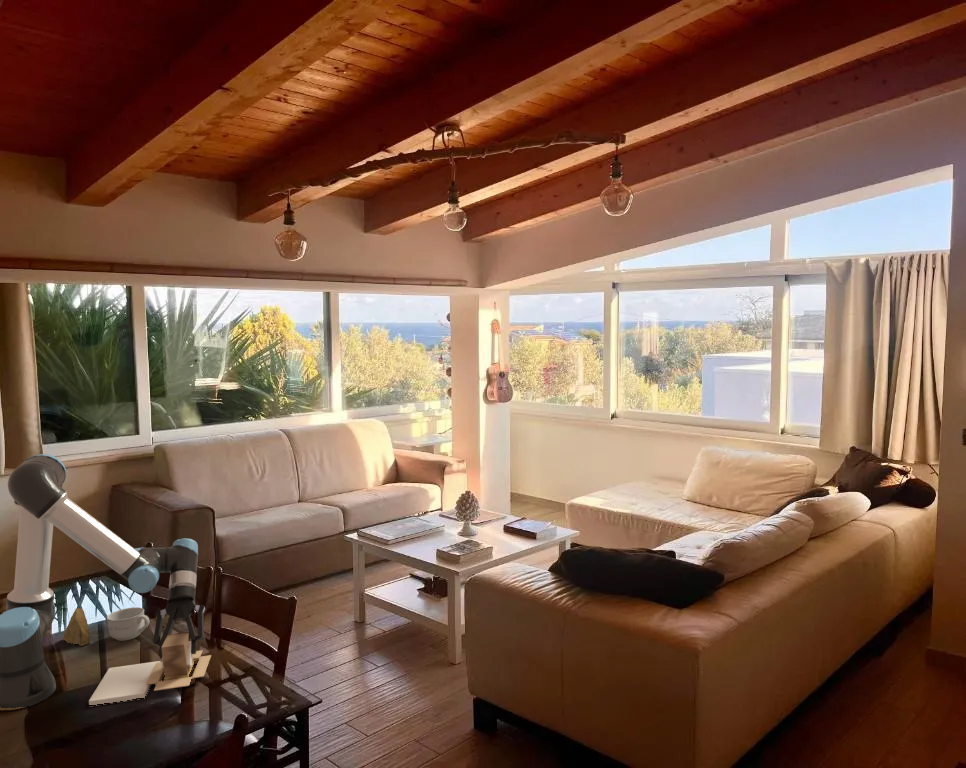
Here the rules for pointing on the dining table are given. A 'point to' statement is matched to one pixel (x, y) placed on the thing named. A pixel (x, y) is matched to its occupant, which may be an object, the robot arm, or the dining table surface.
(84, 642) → the rock
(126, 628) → the teacup
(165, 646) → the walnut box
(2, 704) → the robot arm
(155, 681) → the carton
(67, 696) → the dining table surface
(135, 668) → the board
